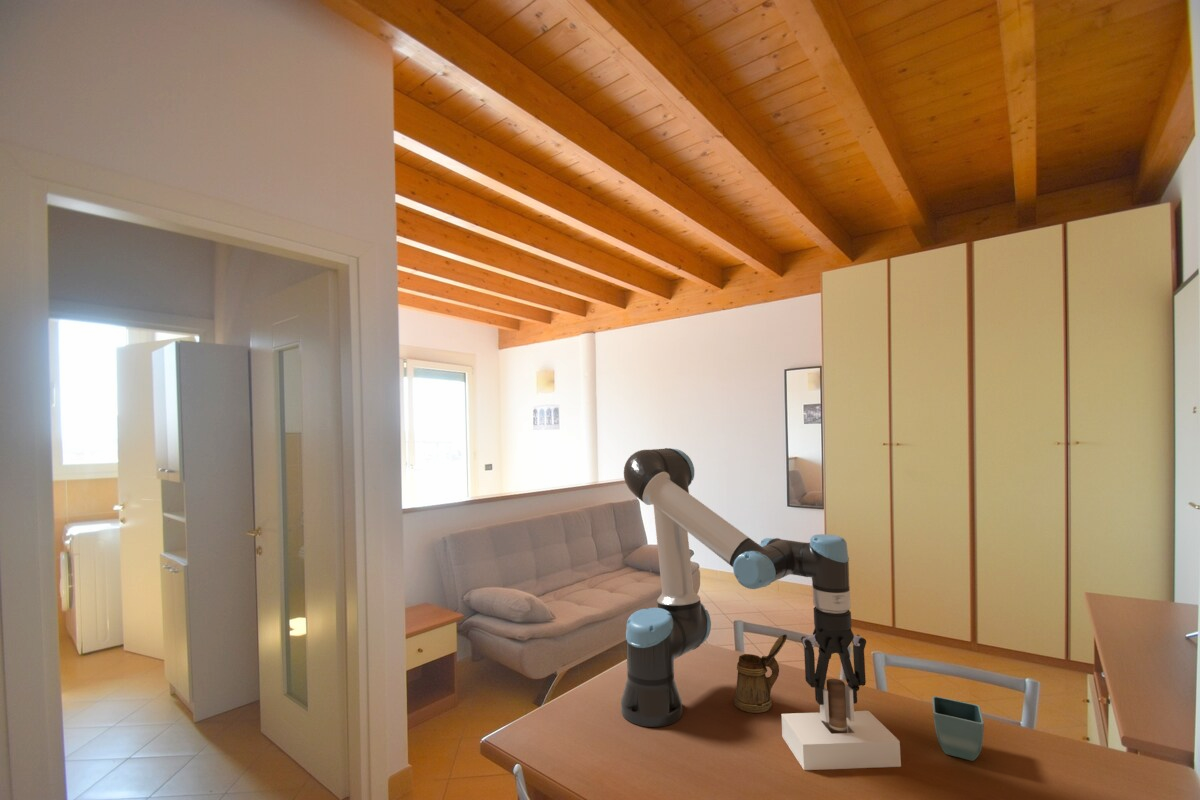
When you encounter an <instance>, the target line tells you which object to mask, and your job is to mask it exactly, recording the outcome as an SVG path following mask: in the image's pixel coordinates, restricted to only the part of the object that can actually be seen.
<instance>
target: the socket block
mask: <svg viewBox="0 0 1200 800" xmlns="http://www.w3.org/2000/svg"><path fill="white" fill-rule="evenodd" d="M780 715H781V735H782V739H783V740H784V742H785V743H786V745H787V746H788V748H789V749H790V751H791V752H792V754H793V755H794V757H795V758H796V760H797V762H798V763H799V764H800V766H801V767H802V769H803V770H804V771H814V770H815V771H816V770H817V771H820V770H822V771H823V770H843V769H844V770H845V769H850V770H851V769H867V768H868V769H870V768H871V769H873V768H900V767H902V762H901V758H902V757H901V745H900V744H901V742H900V740H899V738H897V737H896V736H895V735H894V734H893V733H892V732H891V731H890V730H889V729H888V728H887V727H886V726H885V725H884V724H883V723H882V722H881V721H879V719H878V718H877V717H876V716H875V715H873V714H872V712H870V711H869V710H857V711H855V710H854V722H851V721H850V720H849V719H848V718H847V717H846V720H847V733H836V734H831V733H830V731H829V724H828V722H827V723H826V722H825V721H824V720H823V719H822V717H821V716H820V711H819V712H795V713H781V714H780Z"/></svg>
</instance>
